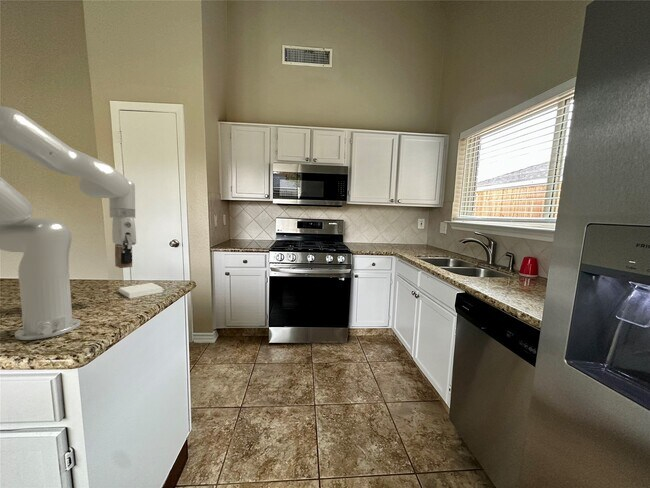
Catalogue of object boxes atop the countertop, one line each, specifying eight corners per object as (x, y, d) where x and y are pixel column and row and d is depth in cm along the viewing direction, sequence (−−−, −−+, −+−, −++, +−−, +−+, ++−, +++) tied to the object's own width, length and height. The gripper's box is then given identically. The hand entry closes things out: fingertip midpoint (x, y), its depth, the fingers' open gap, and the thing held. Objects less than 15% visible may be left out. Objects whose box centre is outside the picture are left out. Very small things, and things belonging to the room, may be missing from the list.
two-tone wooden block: (132, 267, 96) (131, 245, 96) (120, 268, 94) (120, 246, 93) (126, 265, 100) (126, 244, 99) (115, 266, 97) (114, 244, 97)
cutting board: (162, 291, 112) (162, 287, 112) (129, 298, 103) (129, 293, 103) (151, 287, 119) (151, 282, 119) (119, 292, 110) (119, 287, 110)
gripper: (143, 214, 93) (144, 264, 95) (126, 214, 104) (127, 259, 105) (117, 213, 87) (118, 266, 89) (102, 213, 98) (103, 261, 99)
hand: (123, 262), depth 97 cm, fingers closed on two-tone wooden block, 6 cm apart
